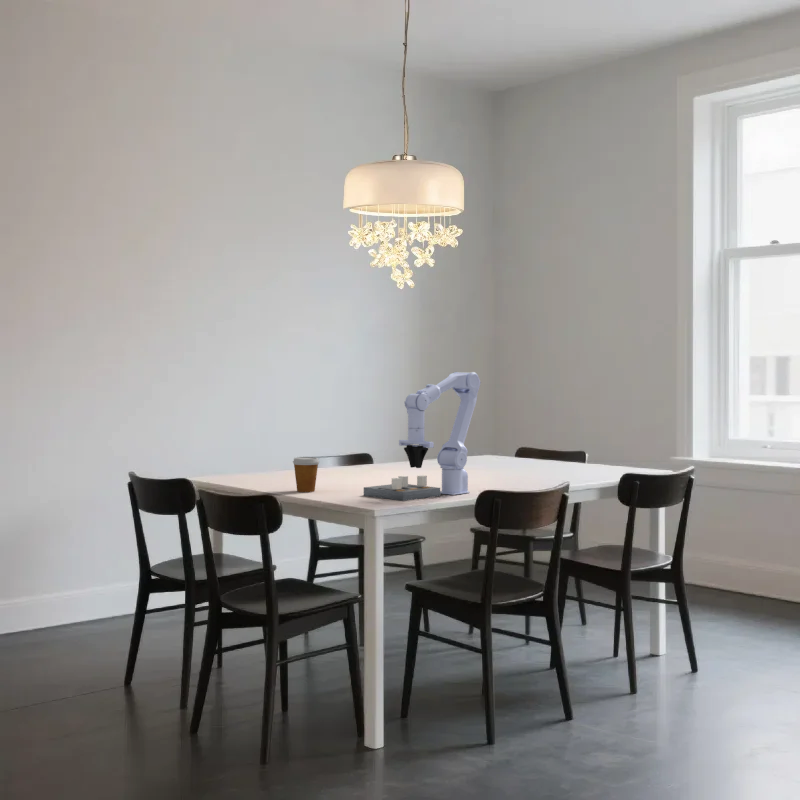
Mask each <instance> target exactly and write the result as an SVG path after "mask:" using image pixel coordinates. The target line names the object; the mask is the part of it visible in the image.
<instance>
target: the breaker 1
mask: <svg viewBox="0 0 800 800" xmlns="http://www.w3.org/2000/svg"><path fill="white" fill-rule="evenodd" d="M401 482H402V478H398V477H393V478H391V484H392V489H401Z"/></svg>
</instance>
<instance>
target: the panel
mask: <svg viewBox="0 0 800 800" xmlns="http://www.w3.org/2000/svg"><path fill="white" fill-rule="evenodd" d="M440 491H441V487H437V486H436V487H435V486H428V485H427V486H417V484H411V483H408V486H407V487H401V489H392V483H391V484H381V485H374V486H365V487H363V496H364V497H371V498H379V499H380V498H381V499H386V500H394V501H395V500H396V501H402V502H405V501H412V500H420V499H428V498H436V497H437V498H438V497H441V493H440Z"/></svg>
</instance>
